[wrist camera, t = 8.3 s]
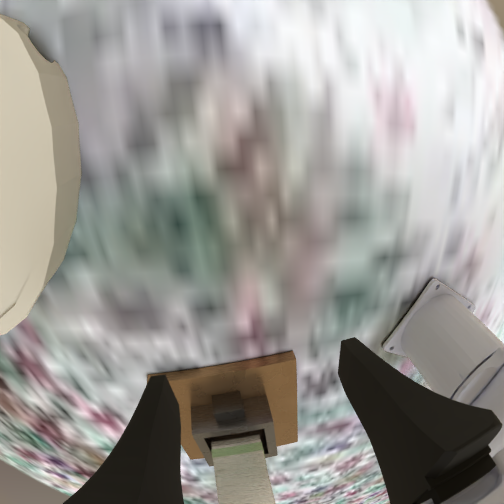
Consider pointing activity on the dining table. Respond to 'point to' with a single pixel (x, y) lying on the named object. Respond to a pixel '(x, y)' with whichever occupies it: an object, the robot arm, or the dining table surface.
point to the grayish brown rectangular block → (241, 471)
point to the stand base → (237, 403)
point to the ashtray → (33, 171)
